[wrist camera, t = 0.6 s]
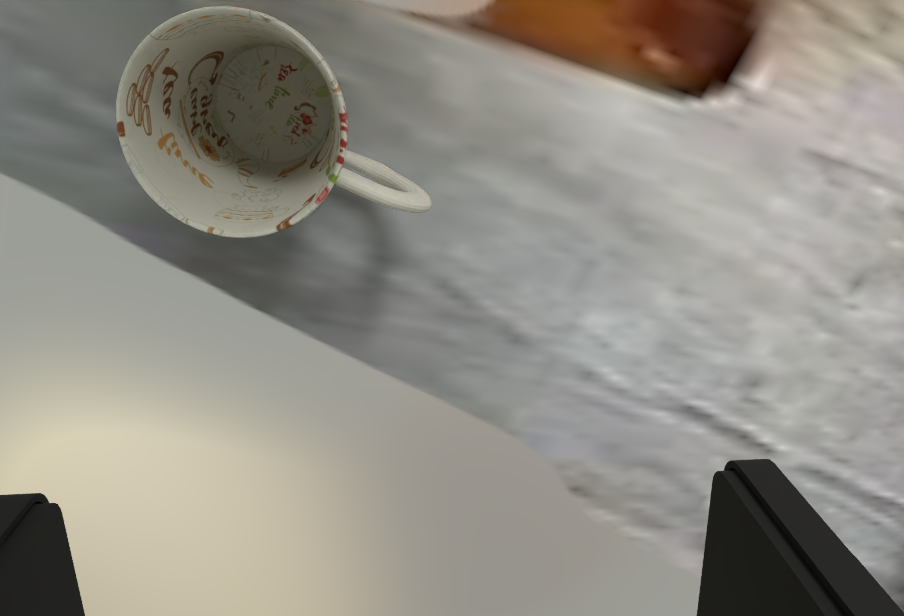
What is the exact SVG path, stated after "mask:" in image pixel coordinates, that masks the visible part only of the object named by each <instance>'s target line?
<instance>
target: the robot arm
mask: <svg viewBox="0 0 904 616" xmlns="http://www.w3.org/2000/svg"><path fill="white" fill-rule="evenodd" d="M0 616H85V614H84V609H83V605H82V601H81V596H80V591H79V587H78V583H77V578H76V574H75V569H74V565H73V560H72V556H71V551H70V547H69V542H68V538H67V533H66V529H65V525H64V520H63V516H62V512H61V509H60V507H59V506H58V504H56V503H49V502H48V500H47V498H46V497H45V495H43V494H41V493H34V494H13V495H0ZM697 616H904V613H903V611H902V610H901V609H900V608H899V607H898V606H897V604H896V603H895V602H894V601H893V600H892V599H891V597H890V596H889V595H888V594H887V593H886V592H885V590H884V589H883V588H882V587H881V586H880V585H879V584H878V582H877V581H876V580H875V579H874V578H873V577H872V575H871V574H870V573H869V572H868V571H867V570H866V568H865V567H864V566H863V565H862V564H861V563H860V561H859V560H858V559H857V558H856V557H855V556H854V555H853V554H852V553H851V552H850V551H849V550H848V548H847V547H846V546H845V545H844V544H843V543H842V541H841V540H840V539H839V538H838V537H837V536H836V534H835V533H834V532H833V531H832V530H831V529H830V527H829V526H828V525H827V524H826V523H825V522H824V521H823V519H822V518H821V517H820V516H819V515H818V514H817V512H816V511H815V510H814V509H813V508H812V507H811V505H810V504H809V503H808V502H807V501H806V500H805V498H804V497H803V496H802V495H801V494H800V493H799V491H798V490H797V489H796V488H795V487H794V486H793V484H792V483H791V482H790V481H789V480H788V479H787V477H786V476H785V475H784V474H783V473H782V472H781V471H780V469H779V468H778V467H777V466H776V465H775V464H774V463H773V462H772V461H771V460H769V459H754V460H733V461H729V462H728V463H727V464H726V466H725V468H724V471H717V472H716V473H715V475H714V477H713V482H712V490H711V499H710V508H709V516H708V525H707V533H706V542H705V550H704V559H703V568H702V576H701V585H700V593H699V602H698V610H697Z"/></svg>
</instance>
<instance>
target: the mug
mask: <svg viewBox="0 0 904 616" xmlns="http://www.w3.org/2000/svg"><path fill="white" fill-rule="evenodd" d="M116 124H117V132H118V137H119V142H120V145H121V148H122V152H123V154H124V157H125V159H126V162H127V164H128V166H129V168H130V170H131V172H132V173H133V175H134V177H135V178H136V180H137V181H138V183H139V184H140V186H141V187H142V188H143V189H144V191H145V192H146V193H147V194H148V195H149V196H150V198H151V199H152V200H153V201H154V202H155V203H156V204H158V205H159V206H160V207H161V208H162V209H163V210H165V211H166V212H167V213H169V214H170V215H171V216H173V217H174V218H176V219H178V220H179V221H181V222H182V223H184V224H186V225H189V226H191V227H193V228H195V229H197V230H200V231H203V232H206V233H209V234H214V235H218V236H223V237H232V238H251V237H259V236H265V235H269V234H273V233H276V232H279V231H282V230H284V229H286V228H288V227H291V226H293V225H294V224H296V223H298V222H299V221H301V220H302V219H304V218H305V217H307V216H308V215H309V214H310V213H312V212H313V211H314V210H315V209H316V208H317V207H318V206H319V205H320V204H321V203H322V202H323V200H324V199H325V198H326V197H327V195H328V194H329V192H330V191H331V189H332V188H333V186H334V184H335V185H337V186H339V187H342V188H344V189H346V190H348V191H350V192H353V193H355V194H357V195H359V196H361V197H364V198H366V199H368V200H371V201H373V202H376V203H378V204H381V205H383V206H386V207H389V208H392V209H396V210H401V211H406V212H411V213H422V212H426V211H428V210H429V209H430V208H431V200H430V197H429V196H428V195H427V193H425V192H424V191H423V190H422V189H421V188H420V187H419V186H418V185H416V184H415V183H413V182H412V181H410V180H408V179H407V178H405V177H403V176H401V175H399V174H398V173H396V172H395V171H393V170H391V169H390V168H388V167H387V166H385V165H383V164H381V163H379V162H377V161H375V160H372V159H369V158H367V157H364V156H362V155H359V154H356V153H354V152H351V151H349V150H347V142H348V119H347V112H346V106H345V102H344V98H343V95H342V92H341V89H340V87H339V84H338V82H337V80H336V78H335V76H334V74H333V72H332V70H331V68H330V67H329V65H328V64H327V62H326V60H325V59H324V58H323V57H322V55H321V54H320V53H319V51H318V50H317V49H316V48H315V47H314V46H313V45H312V44H311V43H310V42H309V41H308V40H307V39H306V38H305V37H303V36H302V35H301V34H300V33H299V32H297V31H296V30H295V29H293V28H291V27H290V26H288V25H287V24H285V23H284V22H282V21H280V20H278V19H276V18H274V17H272V16H269V15H267V14H264V13H262V12H258V11H255V10H251V9H246V8H241V7H233V6H211V7H203V8H198V9H194V10H190V11H187V12H184V13H182V14H179V15H177V16H175V17H173V18H171V19H169V20H167V21H166V22H164V23H162V24H161V25H159V26H158V27H157V28H156V29H154V30H153V31H152V32H151V33H150V34H149V35H148V36H147V37H146V38H145V39H144V40H143V41H142V42H141V43H140V44H139V45H138V47H137V48H136V50H135V51H134V52H133V54H132V56H131V57H130V59H129V61H128V63H127V65H126V67H125V69H124V72H123V74H122V77H121V80H120V83H119V88H118V93H117V100H116ZM343 163H345V164H347V165H349V166H351V167H353V168H355V169H357V170H358V171H360V172H362V173H364V174H366V175H367V176H369V177H371V178H372V179H374V180H376V181H378V182H380V183H382V184H384V185H386V186H389V187H391V188H393V189H391V188H388V187H385V186H383V185H380V184H378V183H376V182H374V181H371V180H369V179H367V178H365V177H362V176H360V175H358V174H356V173H354V172H352V171H349V170H347V169H345V168H343V167H342V166H343ZM394 189H395V190H394Z"/></svg>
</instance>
